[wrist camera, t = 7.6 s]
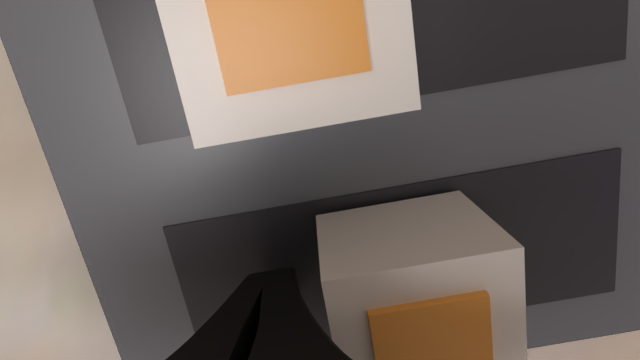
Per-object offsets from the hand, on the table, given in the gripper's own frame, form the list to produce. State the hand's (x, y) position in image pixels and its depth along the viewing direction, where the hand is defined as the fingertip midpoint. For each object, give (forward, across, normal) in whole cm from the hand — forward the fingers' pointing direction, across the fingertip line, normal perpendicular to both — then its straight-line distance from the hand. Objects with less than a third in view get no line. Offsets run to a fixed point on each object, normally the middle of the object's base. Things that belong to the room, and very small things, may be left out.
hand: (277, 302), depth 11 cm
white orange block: (+1, -3, 0) cm, 3 cm away
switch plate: (+2, -4, -4) cm, 6 cm away
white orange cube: (+1, -2, -7) cm, 7 cm away
